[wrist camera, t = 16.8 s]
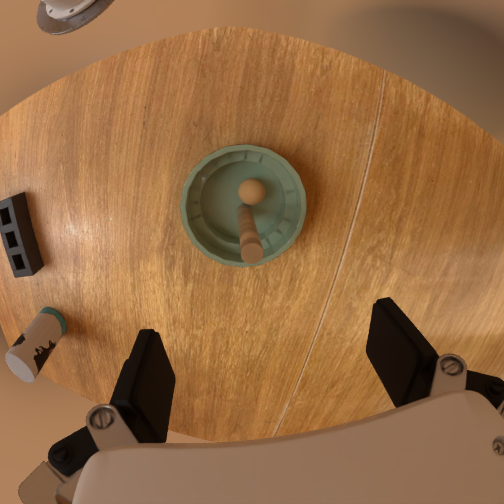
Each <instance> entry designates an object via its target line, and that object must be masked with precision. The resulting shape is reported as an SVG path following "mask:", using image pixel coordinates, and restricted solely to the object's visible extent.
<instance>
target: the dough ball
mask: <svg viewBox="0 0 504 504" xmlns="http://www.w3.org/2000/svg"><path fill="white" fill-rule="evenodd" d="M238 195H239V198H240V199H241V200H242V202H244V203H245V204H248V205H256V204H258V203H260V202H261V201H262V200H263V198H264V196H265V187H264V185H263V183H262V182H261V181H260V180H258V179H255V178H248V179H246V180H244V181H243V182H242V183H241V184H240V186H239V188H238Z"/></svg>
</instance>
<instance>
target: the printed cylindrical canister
mask: <svg viewBox="0 0 504 504" xmlns="http://www.w3.org/2000/svg"><path fill="white" fill-rule="evenodd" d="M66 327H67V326H66V322H65V320H64V318H63V317H62V316H61V314H60V313H59V312H57V311H56V310H55V309H53V308H50V307H45V308H44V309H42V310H41V312H40V313H39V314H38V315H37V316H36V317H35V319H34V320H33V321H32V322H31V323H30V325H29V326H28V327H27V328H26V329H25V331H24V332H23V333H22V334H21V336H20V337H19V338H18V339H17V341H16V342H15V343H14V344H13V346H12V347H11V348H10V350H9V351H8V352H7V354H6V356H5V360H6V363H7V364H8V366H9V368H10V369H11V370H12V372H13V373H14V374H15V375H16V376H18V377H19V378H20V379H22V380H23V381H25V382H28V383H32V382H33V381H34V380H35V378H36V376H37V375H38V373H39V371H40V370H41V368H42V367H43V365H44V363H45V362H46V360H47V359H48V357H49V355H50V354H51V352H52V351H53V349H54V348H55V346H56V345H57V343H58V342H59V340H60V339H61V337H62V336H63V334H64V333H65V331H66Z"/></svg>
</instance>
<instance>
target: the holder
mask: <svg viewBox="0 0 504 504" xmlns="http://www.w3.org/2000/svg"><path fill="white" fill-rule="evenodd" d="M0 233H1V237H2V240H3V244H4V247H5V250H6V253H7V256H8V259H9V262H10V265H11V268H12V271H13V274H14V276H15V278H17V277H25V276H32V275H34V274H35V273H37V272H38V271H39V270H40V269H41V268H42V267H44V263H43V260H42V257H41V254H40V251H39V248H38V245H37V241H36V238H35V234H34V231H33V227H32V223H31V219H30V215H29V211H28V206H27V202H26V197H25V192H23V193H20V194H17V195H15V196H12V197H10V198H7V199H5V200H2V201H0Z"/></svg>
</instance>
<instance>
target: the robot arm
mask: <svg viewBox="0 0 504 504" xmlns="http://www.w3.org/2000/svg"><path fill="white" fill-rule="evenodd" d="M41 1H43V2H45V3H46V10H47V13H48V15H49V16H51V17H52V18H54V19H66V18H70V17H72V16H74V15H76V14H78V13H80V12H82V11H83V10H84V9H86V8H87V7H89V6H90V5H91V4H92V3H93V2H94V1H95V0H41ZM366 354H367V356H368V358H369V360H370V362H371V363H372V365H373V367H374V369H375V371H376V372H377V374H378V376H379V378H380V380H381V381H382V383H383V385H384V387H385V389H386V391H387V393H388V394H389V396H390V398H391V400H392V402H393V404H394V406H395V407H396V408H395V409H392V410H389V411H386V412H383V413H380V414H376V415H373V416H370V417H366V418H363V419H359V420H356V421H352V422H348V423H344V424H340V425H336V426H332V427H328V428H323V429H319V430H314V431H309V432H303V433H298V434H292V435H286V436H279V437H272V438H264V439H256V440H246V441H234V442H218V443H176V444H175V443H165V442H166V439H167V432H168V425H169V418H170V412H171V406H172V399H173V393H174V387H175V374H174V372H173V369H172V367H171V364H170V362H169V359H168V356H167V354H166V351H165V349H164V346H163V343H162V340H161V338H160V335H159V333H158V332H155V331H154V329H141V330H140V331H139V333H138V336H137V338H136V341H135V344H134V346H133V349H132V351H131V354H130V356H129V359H127V360H126V361H125V362H124V365H123V367H122V370H121V373H120V375H119V378H118V381H117V383H116V386H115V389H114V392H113V395H112V397H111V400H110V403H109V404H100V405H97V406H95V407H93V408H92V409H91V410H90V411H89V412H88V414H87V416H86V424H87V426H85V427H83V428H81V429H80V430H78V431H76V432H74V433H73V434H71V435H69V436H67V437H66V438H64V439H62V440H60V441H58V442H57V443H55V444H54V445H53V446H52V447H51V448H50V450H49V453H48V459H49V460H48V461H47V462H45V461H43V462H42V463H41V464H40V465H39V466H38V467H37V468H36V469H35V470H34V471H33V472H32V473H31V474H30V475H29V476H28V477H27V478H26V479H25V480H24V481H23V482H22V483H21V484H20V486H19V489H18V494H19V497H20V499H21V501H22V502H23V503H24V504H504V381H503V380H502V379H500V378H498V377H494V376H490V375H486V374H482V373H478V372H473V371H469V370H467V365H466V363H465V361H464V360H463V359H462V358H461V357H460V356H458V355H455V354H444V355H442V356H440V357H439V356H438V354H437V352H436V351H435V350H434V348H433V347H432V346H431V345H430V343H429V342H428V341H427V340H426V339H425V337H424V336H423V335H422V334H421V333H420V331H419V330H418V329H417V328H416V327H415V325H414V324H413V323H412V322H411V321H410V319H409V318H408V317H407V316H406V315H405V314H404V313H403V311H402V310H401V309H400V308H399V307H398V306H397V305H396V303H395V302H394V301H393V300H392V299H391V298H390V297H386V298H382V299H378V300H377V301H376V303H374V304H373V309H372V316H371V322H370V328H369V334H368V340H367V345H366Z"/></svg>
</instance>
